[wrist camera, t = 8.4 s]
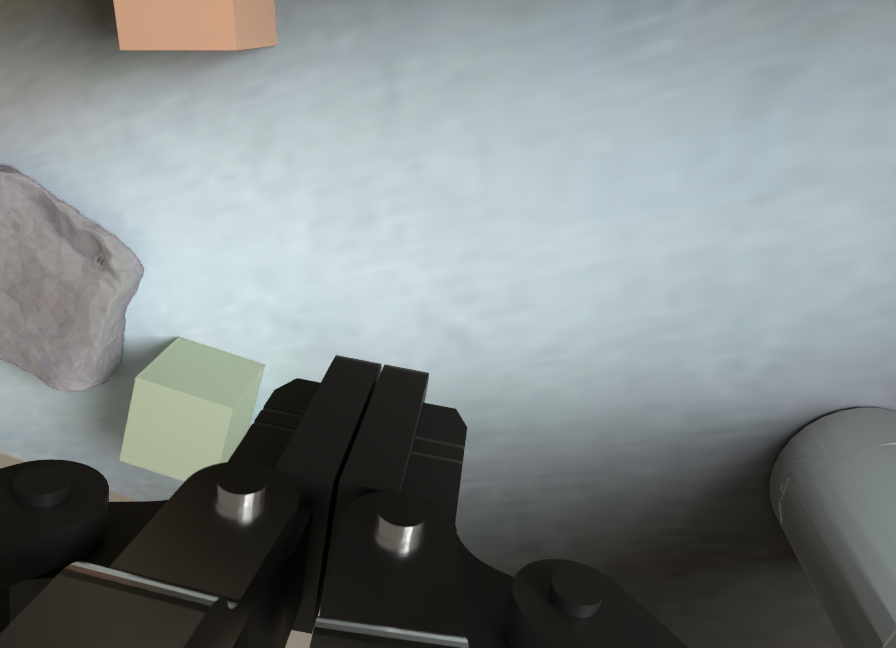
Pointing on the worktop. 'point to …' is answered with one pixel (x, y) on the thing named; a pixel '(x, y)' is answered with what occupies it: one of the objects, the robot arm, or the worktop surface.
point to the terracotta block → (195, 24)
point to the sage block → (190, 409)
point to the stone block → (60, 288)
